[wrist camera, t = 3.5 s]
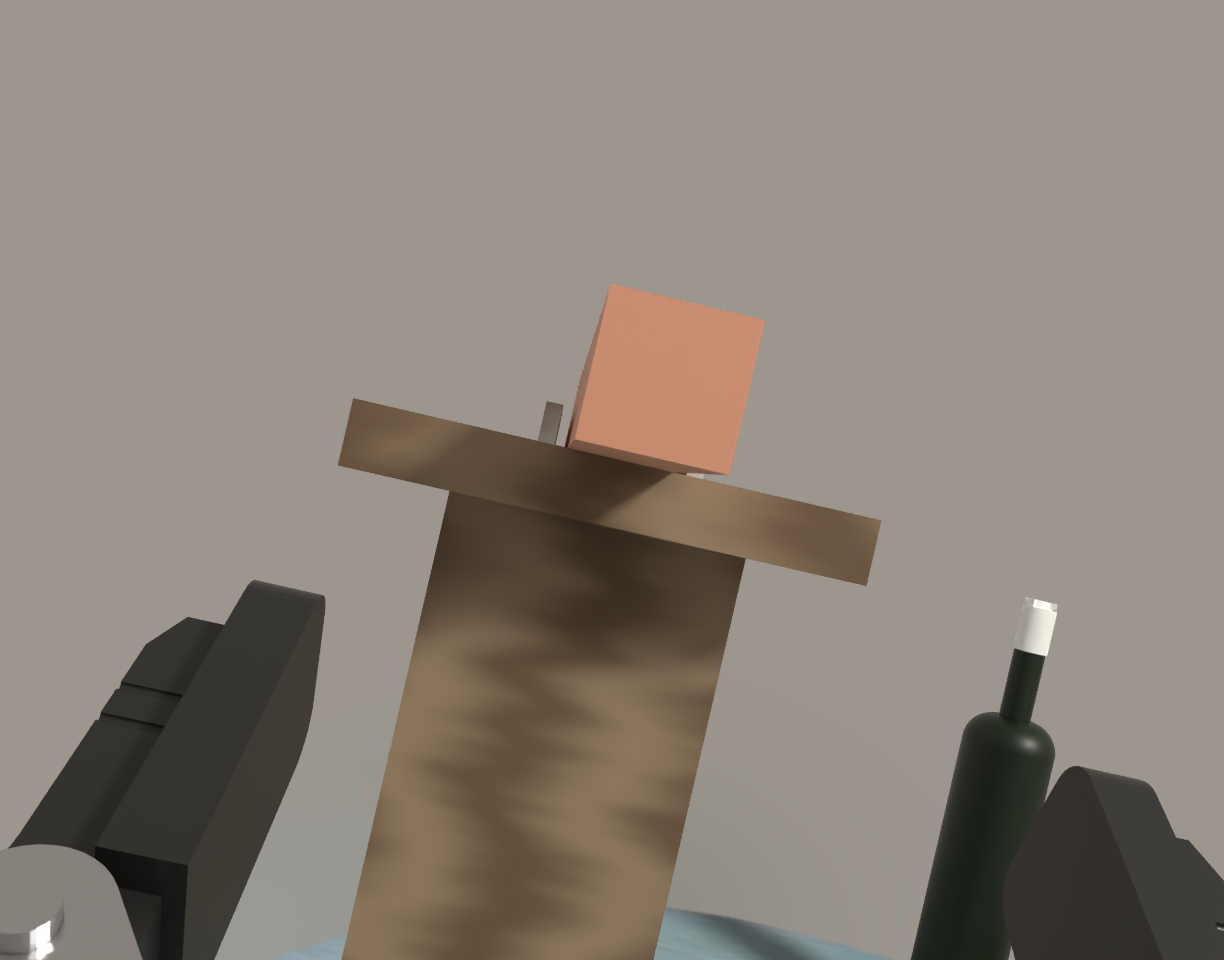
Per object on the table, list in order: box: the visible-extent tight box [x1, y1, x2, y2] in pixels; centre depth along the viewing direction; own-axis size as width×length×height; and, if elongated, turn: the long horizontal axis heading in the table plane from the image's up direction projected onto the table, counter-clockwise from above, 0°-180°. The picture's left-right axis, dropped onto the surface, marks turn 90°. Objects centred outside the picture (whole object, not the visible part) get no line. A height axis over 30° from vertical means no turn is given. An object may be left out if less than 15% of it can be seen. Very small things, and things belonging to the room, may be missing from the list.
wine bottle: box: [911, 597, 1057, 960], centre depth 76 cm, size 6×6×30 cm
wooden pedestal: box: [338, 399, 881, 960], centre depth 41 cm, size 18×16×33 cm
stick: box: [565, 284, 765, 475], centre depth 36 cm, size 3×26×3 cm, turn 3°
